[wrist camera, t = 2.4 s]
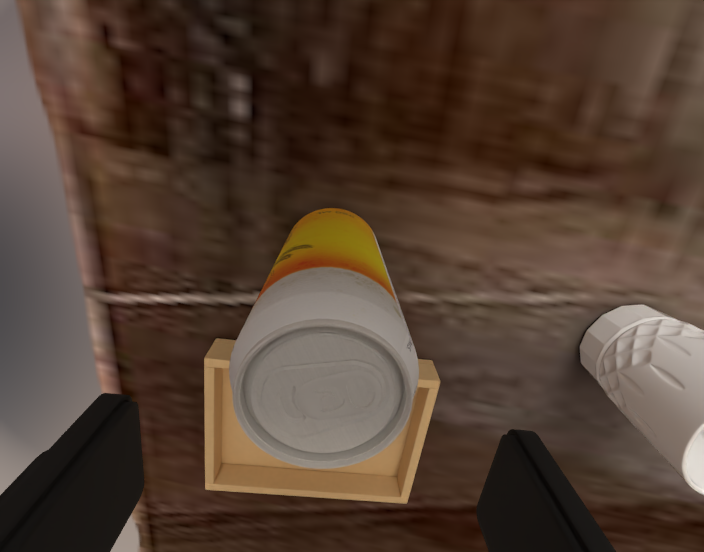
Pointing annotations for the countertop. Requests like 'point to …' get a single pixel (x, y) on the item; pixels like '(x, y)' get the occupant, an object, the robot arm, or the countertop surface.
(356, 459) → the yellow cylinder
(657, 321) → the white cup
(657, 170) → the countertop surface
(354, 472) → the tray
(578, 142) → the countertop surface
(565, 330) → the countertop surface
